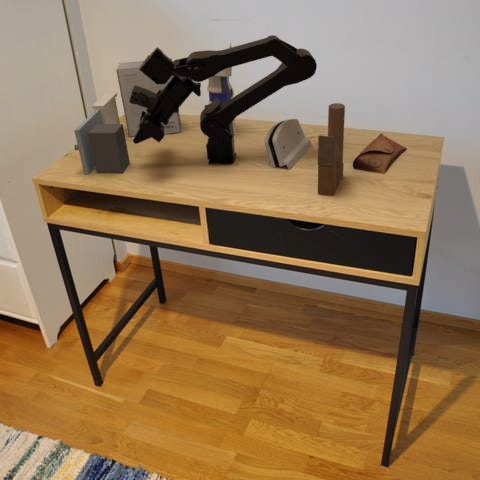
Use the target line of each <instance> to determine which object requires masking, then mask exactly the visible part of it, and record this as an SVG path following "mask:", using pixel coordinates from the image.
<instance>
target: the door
mask: <svg viewBox="0 0 480 480" xmlns="http://www.w3.org/2000/svg"><path fill="white" fill-rule="evenodd" d="M96 124H103V121H102V116H101V111H100V109H96V110H95V111H92V112H91V113H90V114H89V115H88V116H87V117H86V118H85V119H84V120H82V122H81V123H80V124H78V126H76V128H75V129H73V132H74V135H75V139H76V144H74V150H75V151H78V153H79V156H80V157H79V158H80V161H81V165H82V171H83V174H84V175H90V174H91V172H92V171H93V170H94V169H96V167H95V163H94V158H93V153H92V149H91V144H90V140H89V135H88V133H89V132H90V131H91V130H92V128H93V127H94V126H95V125H96Z"/></svg>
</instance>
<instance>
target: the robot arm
mask: <svg viewBox="0 0 480 480" xmlns="http://www.w3.org/2000/svg"><path fill="white" fill-rule="evenodd" d="M269 57H270V58H271V57H273V58H275V59H276V60H278V61H279V62H281V63H280V64H279V65H278V67H277V68H276V69H275V70H274V71H272V72H270V73H269V74H267V75H266V76H264V77H263V78H262V79H261V78H260V80H258V81H257V82H255V83H254V84H251V85H250V86H249V87H247V88H246V89H244V90H243V91H241V92H240V93H238V94H236V95H235V96H233V97H232V99H230V100H228V101H225V102H220V101H219V99H218V98H217V99H215V100H214V101H213V102H212V103H211V104H206V105H204V109H202V111H200V112H201V113H200V114H199V115H200V116H199V127H200V128H199V129H200V130H201V132H202V133H203V135H204V136H206V137H208V138H207V142H206V144H205V146H206V156H207V160H208V161H207V163H208V165H233V164H234V163H235V159H236V156H237V153H236V150H235V139H234V138H235V137H234V136H235V135H232V130H231V123H232V121H233V120H234V119H236V118H237V117H238V116H240V115H241V114H243V113H245V112H246V111H247V110H249V109H251V108H253V107H254V106H255V105H258V104H259V103H260V102H262V101H264V100H265V99H267V98H268V97H270V96H272V95H273V94H275V93H277V92H279V90H281V89H283V88H285V87H286V86H290V85H291V86H292V85H296V84H299V83H302V82H304V81H306V80H309V79H310V78H312V77H313V76H314V75H315V74H316V71H317V69H318V68H317V66H318V64H317V61H316V59H315V58H314V56H313V55H312V53H311V52H310V51H309V50H307V49H306V48H297V47H295V46H293V45H292V44H290V43H287V42H286V41H284V40H282V39H281V38H280V37H278V36H277V35H268V36H267V37H265V38H261V39H258V40H254V41H250V42H247V43H243V44H238V45H236V46H232V48H230V47H229V48H225V49H222V50H211V49H210V50H198V51H193V52H191V53H190V54H189V55H188V56H187V57H182V58H179V59H178V58H177V59H174V60H173V59H172V60H171V59H170V57H169V56H168V55H166V54H165V53H164V52H163V50H162V49H161V48H159V47H158V46H157V47H156V48H155V49H154V50H153V51H152V52H150V54H148V55H147V56H146V58H145V59H144V60H143V61H144V62H143V63H142V65H141V66H140V68H139V70H140V71H141V72H142V73H144V74H145V75H146V76H147V77H148V78H150V79H151V80H152V81H153V82H155V83H156V84H157V85H159V84H161V85H162V84H165V83H166V82H167V81H168V80H169V79H170V77H171V76H172V75H173V76H174V77H173V78H172V79H171V80H170V82H169V83H168V84H167V85H166V86H165V88H164V89H163V90H162V89H161V90H159V91H158V92H157V93H154V92H152V91H150V90H147V89H144V88H142V87H139V86H134V87H133V90H132V93H131V96H130V100H129V102H130V103H132V104H136V105H139V106H142V107H145V108H147V110H146V112H144V111H142V114H141V118H140V123H139V129H138V131H137V133H136V135H135V136H133V140H132V143H134V144H135V145H137V144H139V143H142V142H144V141H147V140H148V139H153V140H155V141H156V142H158V143H161V142H162V140H163V139H164V137H165V135H166V134H165V128H164V126H163V125H162V123H163V124H164V125H167V124H168V122H169V119H170V118H171V117H172V115H173V114H174V113H177V112H178V111H179V112H180V107H182V105H183V104H184V102H185V101H186V100H187V99H188V98H189V97H190V95H191V94H193V93H194V94H195V95H196V96H197V97H201V96H202V95H201V94H202V92H201V91H202V90H201V88H202V87H201V86H202V84H201V82H204V81H206V80H208V78H210V77H212V76H214V75H216V74H217V73H219V72H220V71H222V70H224V69H226V68H230V67H232V68H233V67H237V66H239V65H240V66H241V65H244V64H248V63H251V62H254V61H255V62H256V61H259V60H263V59H265V58H269Z"/></svg>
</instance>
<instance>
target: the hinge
mask: <svg viewBox="0 0 480 480" xmlns="http://www.w3.org/2000/svg"><path fill="white" fill-rule="evenodd" d="M264 138H265V139H264V147H265V149H266V153H267V157H268V160H269V164H270V167H271V169H274V168H276V167H278V166H279V167H283V166H286V167H287V170H289V171H291V170H292V169H293V167H294V166H295V165H296V164H297V163H298V162H299V161H300V159H302V158H303V156H304V155H305V154H306V153H307V152H308V150H310V149H311V148H312V146H313V145H312V142H311V139H309V138H308V137H306V135H305V133H304V131H303V128H302V126H301V123H300V122H299V120H298V118H289V119H286V120H281V121H279V122H277V123H276V124H275V125H273V126H272V127H271V128H270V129H269V130H268V132H267V134H266V137H264Z"/></svg>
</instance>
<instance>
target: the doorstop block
mask: <svg viewBox="0 0 480 480" xmlns="http://www.w3.org/2000/svg"><path fill="white" fill-rule="evenodd" d="M88 135H89V140H90V144H91V149H92V153H93V158H94V163H95V171H96V174H113V175H114V174H121V175H122V174H124V173H125V172H126V170H127V168H128V167H129V166H130V164H131V163H130V157H129V151H128V146H127V140H126V135H125V129H124V124H123V123H120V124H96V125H95V126H94V127H93V128H92V130H91V131H90V132H89V133H88Z"/></svg>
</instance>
